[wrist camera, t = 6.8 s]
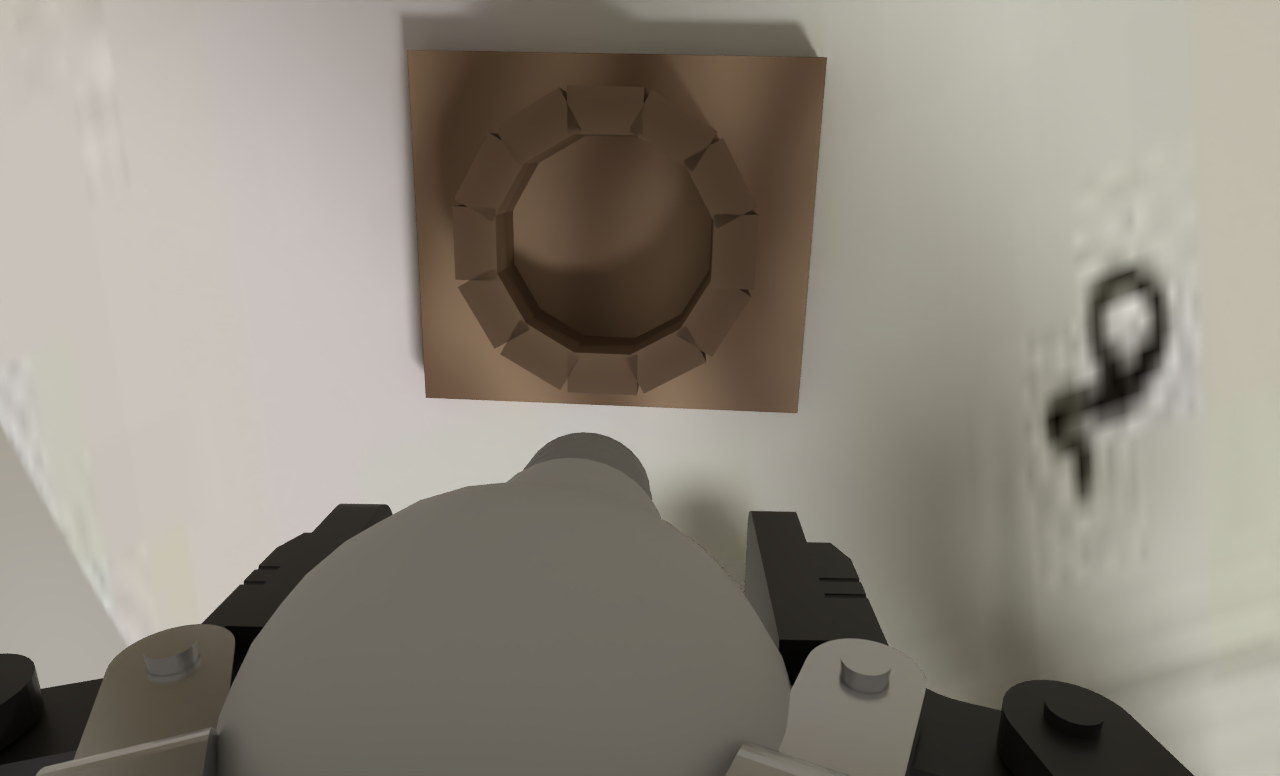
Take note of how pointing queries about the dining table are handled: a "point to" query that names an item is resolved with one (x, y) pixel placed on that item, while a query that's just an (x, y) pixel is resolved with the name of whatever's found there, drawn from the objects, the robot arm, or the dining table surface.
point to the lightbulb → (512, 641)
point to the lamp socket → (615, 225)
